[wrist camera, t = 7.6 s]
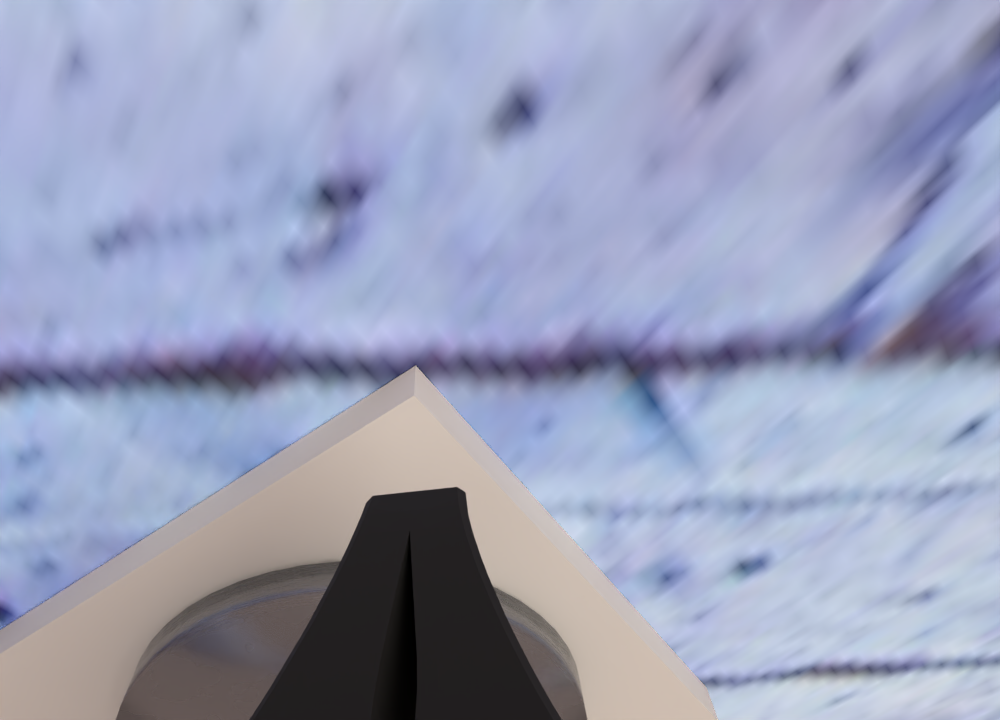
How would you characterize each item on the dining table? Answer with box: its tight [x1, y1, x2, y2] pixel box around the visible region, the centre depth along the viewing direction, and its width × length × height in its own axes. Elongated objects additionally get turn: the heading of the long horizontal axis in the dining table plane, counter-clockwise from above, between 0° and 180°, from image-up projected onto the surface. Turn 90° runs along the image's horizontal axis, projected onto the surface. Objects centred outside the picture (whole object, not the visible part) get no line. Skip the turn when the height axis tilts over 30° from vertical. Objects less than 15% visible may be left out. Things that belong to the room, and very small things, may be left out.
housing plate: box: [0, 366, 718, 720], centre depth 26 cm, size 20×20×2 cm
